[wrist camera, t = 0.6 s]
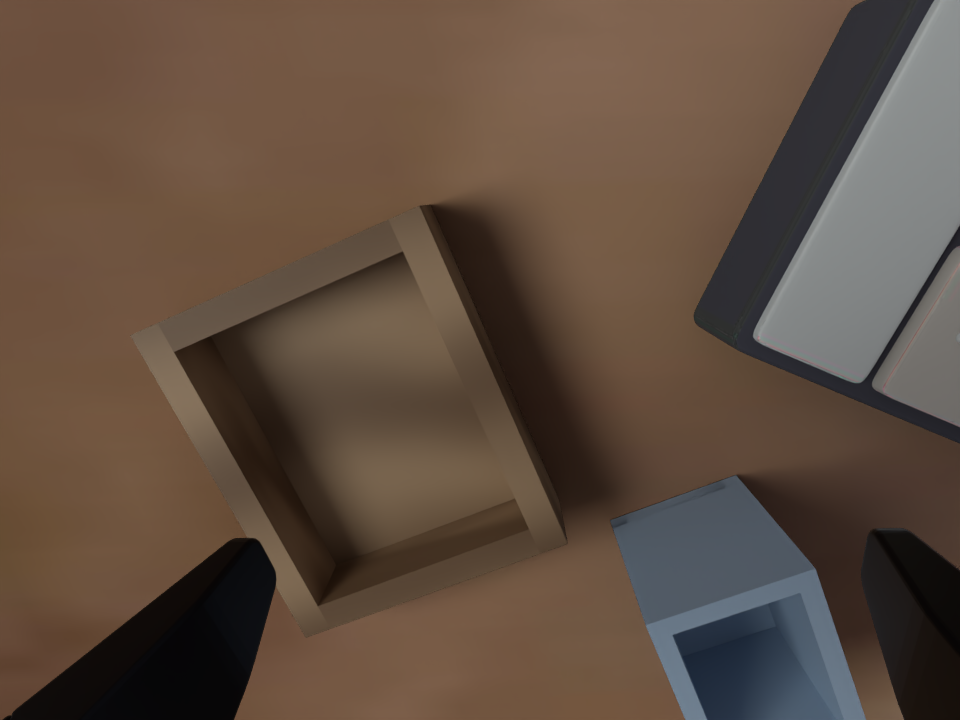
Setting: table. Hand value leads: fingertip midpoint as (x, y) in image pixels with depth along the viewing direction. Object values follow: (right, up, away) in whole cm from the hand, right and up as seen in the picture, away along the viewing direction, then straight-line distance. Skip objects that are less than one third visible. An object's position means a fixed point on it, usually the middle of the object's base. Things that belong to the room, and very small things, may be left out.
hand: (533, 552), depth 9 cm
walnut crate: (-5, +1, +14) cm, 15 cm away
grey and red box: (+16, +6, +12) cm, 21 cm away
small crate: (+8, -6, +15) cm, 18 cm away
